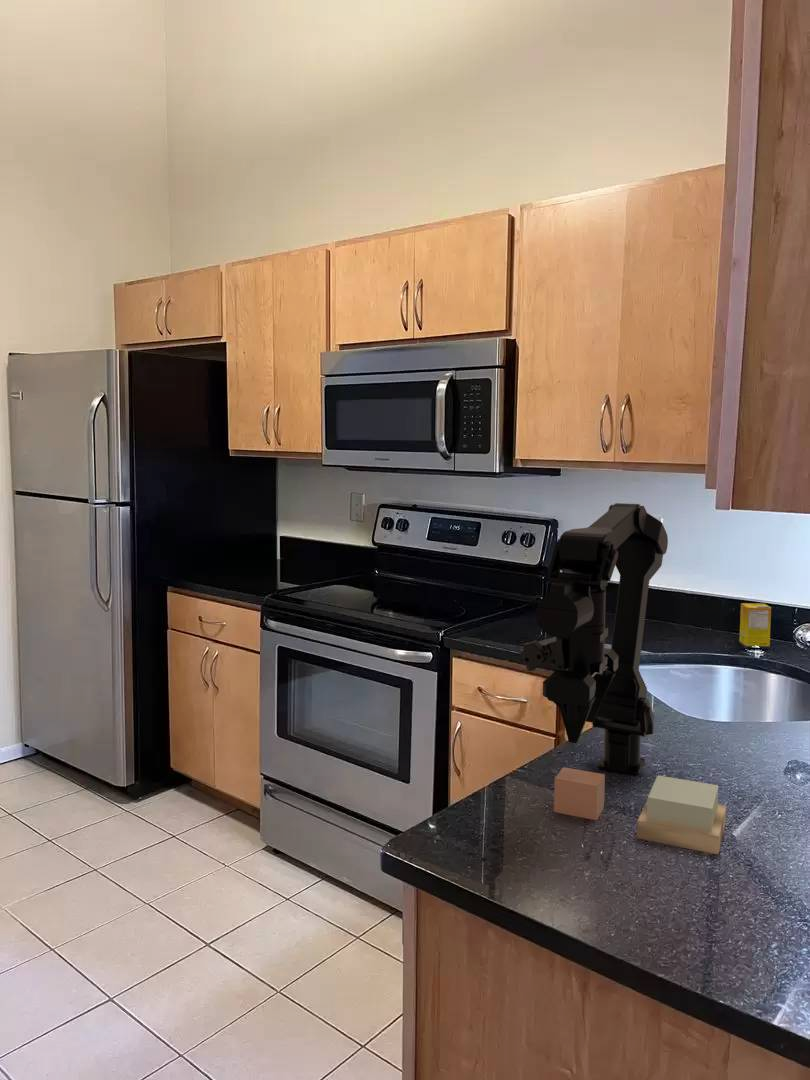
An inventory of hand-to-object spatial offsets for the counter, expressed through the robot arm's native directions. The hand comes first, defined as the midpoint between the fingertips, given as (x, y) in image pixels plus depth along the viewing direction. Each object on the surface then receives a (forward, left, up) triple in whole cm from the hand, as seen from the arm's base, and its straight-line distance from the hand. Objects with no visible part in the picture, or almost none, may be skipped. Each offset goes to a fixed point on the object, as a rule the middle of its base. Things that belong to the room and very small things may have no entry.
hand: (581, 731), depth 115 cm
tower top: (0, +14, -9) cm, 17 cm away
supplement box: (-115, +16, -12) cm, 117 cm away
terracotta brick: (0, 0, -12) cm, 12 cm away
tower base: (0, +14, -12) cm, 18 cm away
